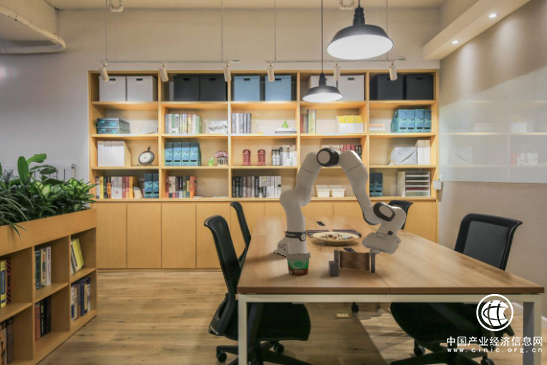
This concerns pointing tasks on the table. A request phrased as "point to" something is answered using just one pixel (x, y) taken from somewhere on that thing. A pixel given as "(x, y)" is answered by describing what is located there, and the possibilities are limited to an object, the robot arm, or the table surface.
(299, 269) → the yogurt cup
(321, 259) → the table surface
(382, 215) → the robot arm
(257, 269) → the table surface
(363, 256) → the brown wooden bar
